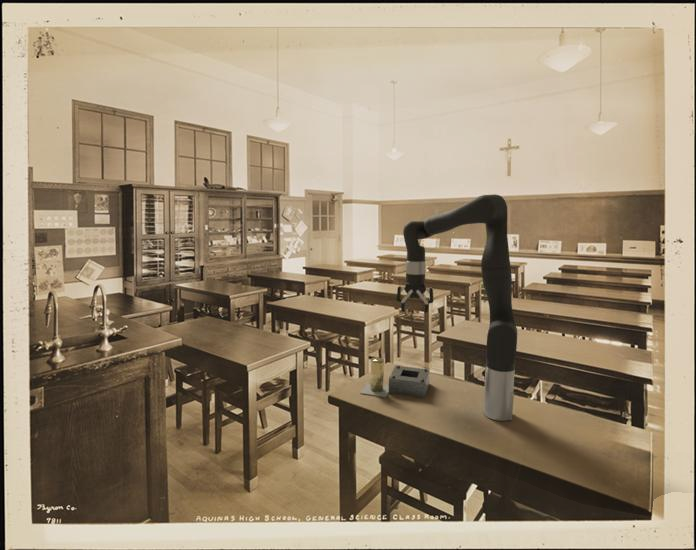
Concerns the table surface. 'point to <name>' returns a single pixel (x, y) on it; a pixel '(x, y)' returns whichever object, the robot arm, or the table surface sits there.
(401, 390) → the grey square socket block
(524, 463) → the table surface
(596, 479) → the table surface
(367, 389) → the rubber mat
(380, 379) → the brass cylindrical shaft
